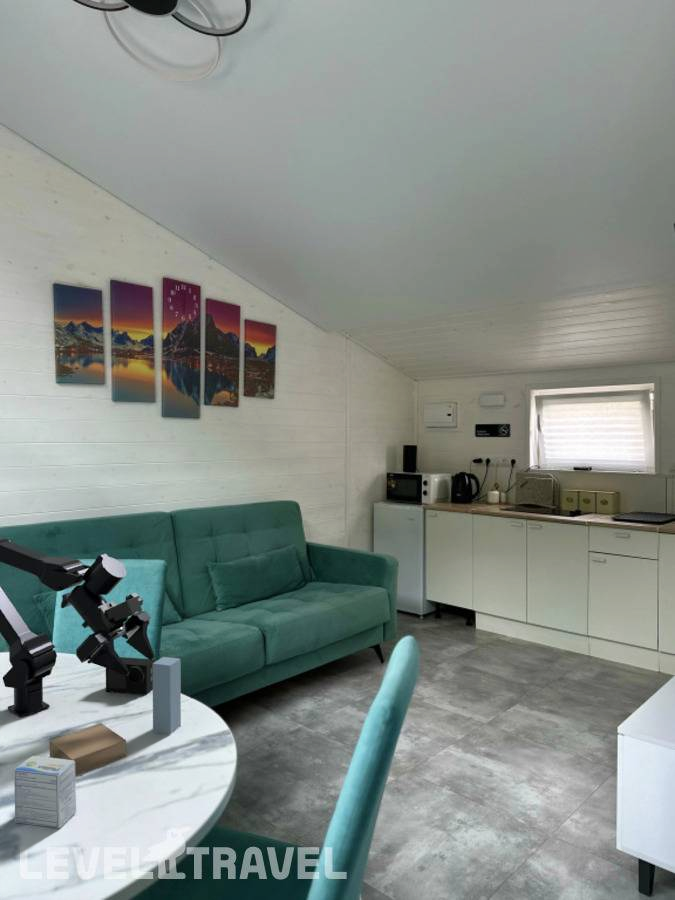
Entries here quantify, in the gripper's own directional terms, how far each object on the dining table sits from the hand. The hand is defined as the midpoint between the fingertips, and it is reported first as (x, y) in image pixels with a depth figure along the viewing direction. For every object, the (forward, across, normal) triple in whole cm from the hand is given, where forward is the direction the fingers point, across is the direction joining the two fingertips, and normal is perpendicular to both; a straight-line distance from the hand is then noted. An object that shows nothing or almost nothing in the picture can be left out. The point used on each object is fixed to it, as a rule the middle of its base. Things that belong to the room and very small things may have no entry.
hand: (140, 666), depth 131 cm
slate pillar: (+13, 0, +4) cm, 14 cm away
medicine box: (+12, -32, +6) cm, 34 cm away
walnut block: (+7, -14, +10) cm, 19 cm away
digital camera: (0, +15, +18) cm, 23 cm away
